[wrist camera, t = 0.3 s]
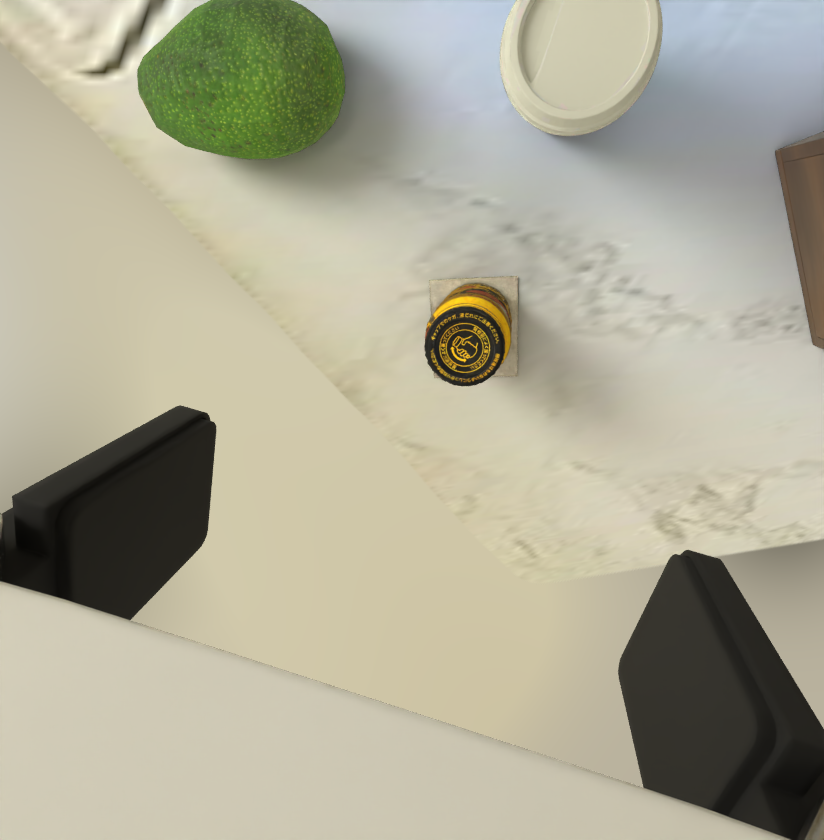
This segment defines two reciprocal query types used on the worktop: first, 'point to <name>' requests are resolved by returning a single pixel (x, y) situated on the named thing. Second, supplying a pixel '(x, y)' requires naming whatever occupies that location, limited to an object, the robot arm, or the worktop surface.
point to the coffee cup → (578, 60)
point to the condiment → (472, 329)
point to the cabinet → (807, 221)
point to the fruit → (245, 79)
